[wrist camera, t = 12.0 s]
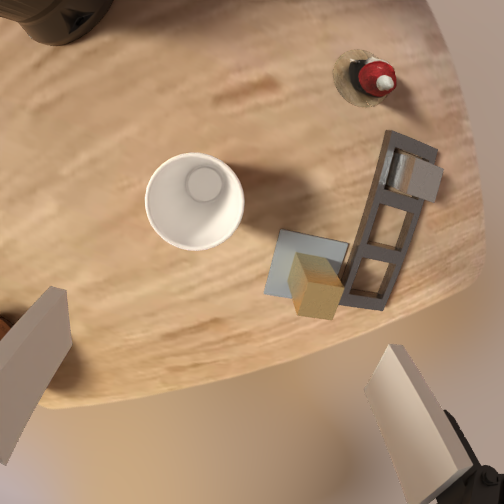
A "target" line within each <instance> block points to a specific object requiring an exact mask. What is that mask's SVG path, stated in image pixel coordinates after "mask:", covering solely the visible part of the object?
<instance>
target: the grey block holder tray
mask: <svg viewBox="0 0 504 504" xmlns="http://www.w3.org/2000/svg"><path fill="white" fill-rule="evenodd" d="M395 148H396V149H399V150H402V151H404V152H407V153H409V154H412V155H415V156H417V157H420V158H422V160H423V161H426V162H428V163H431V164H433V165H434V163H435V159H436V155H437V151H438V149H436V148H433V147H431V146H429V145H427V144H424V143H422V142H420V141H417V140H415V139H412V138H410V137H407V136H405V135H402V134H400V133H397V132H395V131H392V130H386V131H385V136H384V140H383V144H382V148H381V152H380V156H379V159H378V163H377V167H376V171H375V174H374V178H373V182H372V185H371V189H370V192H369V196H368V199H367V203H366V206H365V209H364V213H363V216H362V219H361V222H360V226H359V229H358V232H357V235H356V238H355V241H354V244H353V247H352V250H351V253H350V256H349V259H348V262H347V265H346V268H345V271H344V274H343V277H342V280H341V283H342V284H343V286H344V291H343V294H342V296H341V299H340V302H339V304H338V305H343V306H350V307H357V308H364V309H372V310H379V311H383V310H384V307H385V305H386V303H387V300H388V298H389V296H390V293H391V291H392V288H393V286H394V284H395V281H396V279H397V276H398V274H399V271H400V268H401V266H402V263H403V261H404V258H405V255H406V253H407V250H408V247H409V244H410V242H411V239H412V236H413V233H414V230H415V227H416V224H417V221H418V218H419V215H420V212H421V209H422V205H423V202H424V199H421V198H419V197H416V196H413V195H412V197H410V196H407V195H404V194H401V193H398V192H395V191H391V190H388V189H385V188H384V186H385V183H386V179H387V176H388V172H389V168H390V164H391V161H392V157H393V153H394V149H395ZM379 203H381V204H384V205H388V206H391V207H394V208H398V209H401V210H404V211H407V214H406V217H405V220H404V223H403V226H402V229H401V232H400V235H399V238H398V241H397V244H396V247H393V246H389V245H385V244H380V243H376V242H372V241H368V238H369V235H370V232H371V229H372V226H373V223H374V220H375V216H376V213H377V210H378V207H379ZM362 257H364V258H369V259H373V260H378V261H383V262H388V263H389V266H388V268H387V271H386V274H385V276H384V279H383V281H382V284H381V286H380V289H379V291H378V293H374V292H368V291H361V290H355V289H351V287H352V284H353V281H354V278H355V276H356V273H357V270H358V267H359V265H360V262H361V259H362Z"/></svg>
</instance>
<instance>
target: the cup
mask: <svg viewBox="0 0 504 504" xmlns="http://www.w3.org/2000/svg"><path fill="white" fill-rule="evenodd" d="M244 204H245V199H244V192H243V188H242V186H241V183H240V181H239V179H238V177H237V176H236V174H235V172H234V171H233V170H232V169H231V168H230V167H229V166H228V165H227V164H225V163H224V162H223V161H221V160H220V159H218V158H216V157H213V156H211V155H208V154H203V153H185V154H180V155H177V156H175V157H172V158H170V159H169V160H167V161H166V162H164V163H163V164H162V165H161V166H160V167H159V168H158V169H157V170H156V171H155V172H154V174H153V175H152V177H151V178H150V181H149V183H148V186H147V189H146V195H145V208H146V212H147V216H148V219H149V221H150V223H151V225H152V227H153V228H154V230H155V231H156V232H157V233H158V234H159V235H160V236H161V237H162V238H163V239H164V240H165V241H167V242H168V243H170V244H171V245H173V246H176V247H178V248H181V249H185V250H193V251H199V250H207V249H210V248H213V247H216V246H218V245H220V244H221V243H223V242H225V241H226V240H227V239H228V238H229V237H230V236H232V234H233V233H234V232H235V230H236V229H237V228H238V226H239V224H240V222H241V220H242V216H243V212H244Z"/></svg>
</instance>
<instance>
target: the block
mask: <svg viewBox="0 0 504 504" xmlns="http://www.w3.org/2000/svg"><path fill="white" fill-rule="evenodd" d="M443 170H444V169H443V168H440V167H438V166H436V165H433V164H431V163H428V162H426V161H423V160H421V159H418V158H416V157H412V156H407V155H403V154H399V153H393V157H392V161H391V164H390V168H389V172H388V176H387V179H386V183H385V184H387V185H389V186H391V187H393V188H396V189H398V190H400V191H402V192H404V193H406V194H410V195H413V196H416V197H419V198H421V199H424V200H427V201H430V202H433V203H434V202H435V199H436V196H437V192H438V189H439V185H440V181H441V178H442V174H443Z"/></svg>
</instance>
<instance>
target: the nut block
mask: <svg viewBox="0 0 504 504" xmlns="http://www.w3.org/2000/svg"><path fill="white" fill-rule="evenodd" d="M287 282H288V286H289V289H290V293H291V296H292V299H293V303H294V306H295V310H296V313H297V315H298V316H305V317H312V318H319V319H327V320H332V319H333V317H334V314H335V312H336V309H337V307H338V304H339V302H340V299H341V296H342V294H343V291H344V286H343V284H342V283H341V281H340V280H339V278H338V276H337V275H336V273H335V271H334V270H333V268H332V266H331V265H330V263H329V262H328V260H327V258H324V257H319V256H314V255H309V254H303V253H298V252H295V256H294V259H293V263H292V266H291V270H290V273H289V276H288V280H287Z"/></svg>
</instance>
